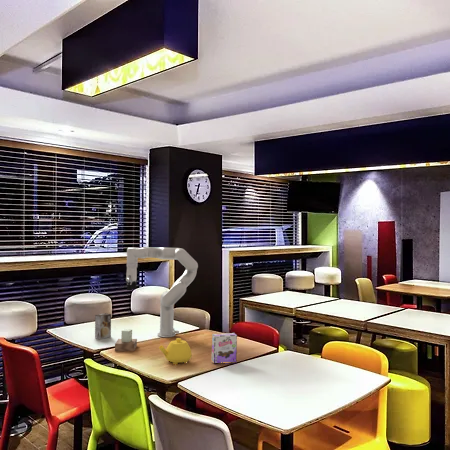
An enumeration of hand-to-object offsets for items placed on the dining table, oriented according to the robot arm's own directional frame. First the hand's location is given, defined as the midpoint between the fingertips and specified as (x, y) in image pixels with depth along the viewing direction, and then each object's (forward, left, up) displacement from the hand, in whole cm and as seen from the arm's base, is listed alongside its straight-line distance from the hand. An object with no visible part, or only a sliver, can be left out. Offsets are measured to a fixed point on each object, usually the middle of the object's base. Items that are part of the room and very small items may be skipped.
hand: (131, 289), depth 322 cm
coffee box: (+18, +6, -34) cm, 38 cm away
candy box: (-72, +48, -34) cm, 93 cm away
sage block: (-7, +30, -29) cm, 42 cm away
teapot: (-44, +54, -34) cm, 77 cm away
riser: (-7, +30, -34) cm, 46 cm away
